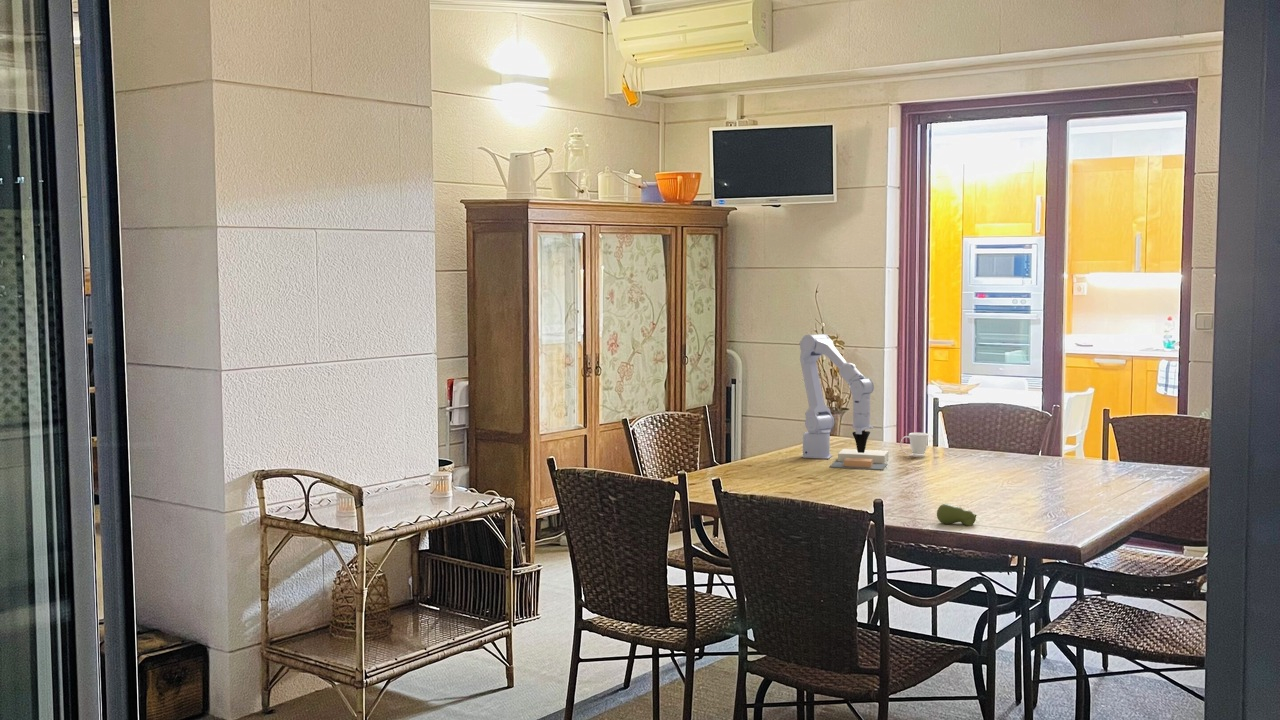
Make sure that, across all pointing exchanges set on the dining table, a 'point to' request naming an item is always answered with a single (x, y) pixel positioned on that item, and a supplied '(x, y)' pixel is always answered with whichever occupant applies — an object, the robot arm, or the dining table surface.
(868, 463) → the tile
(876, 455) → the cream flat block
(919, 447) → the cup
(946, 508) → the pear
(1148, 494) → the dining table surface
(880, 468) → the mat
